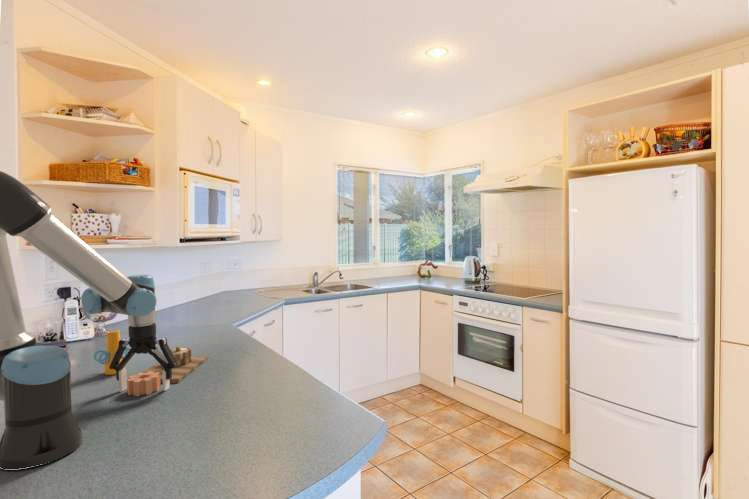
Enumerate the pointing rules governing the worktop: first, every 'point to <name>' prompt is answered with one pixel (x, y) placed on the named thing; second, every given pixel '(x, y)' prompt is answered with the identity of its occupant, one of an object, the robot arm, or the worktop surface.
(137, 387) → the gear
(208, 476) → the worktop surface
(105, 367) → the orange post with rings
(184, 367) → the gear board
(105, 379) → the worktop surface
